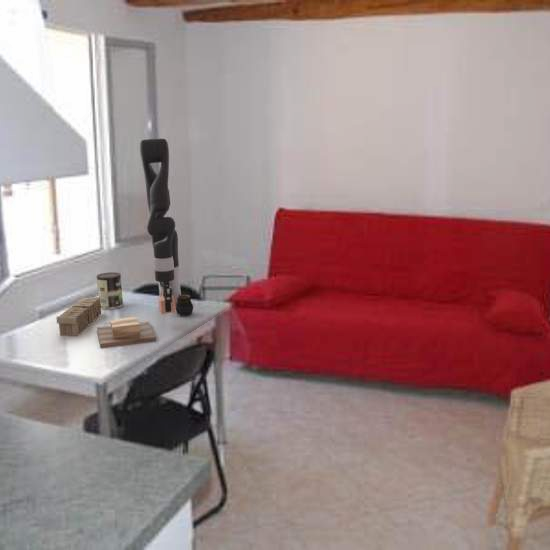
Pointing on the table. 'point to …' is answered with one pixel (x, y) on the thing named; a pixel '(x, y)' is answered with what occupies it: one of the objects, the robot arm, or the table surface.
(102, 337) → the walnut base
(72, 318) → the brown long block
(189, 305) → the mate gourd
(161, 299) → the terracotta cube
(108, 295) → the coffee can
